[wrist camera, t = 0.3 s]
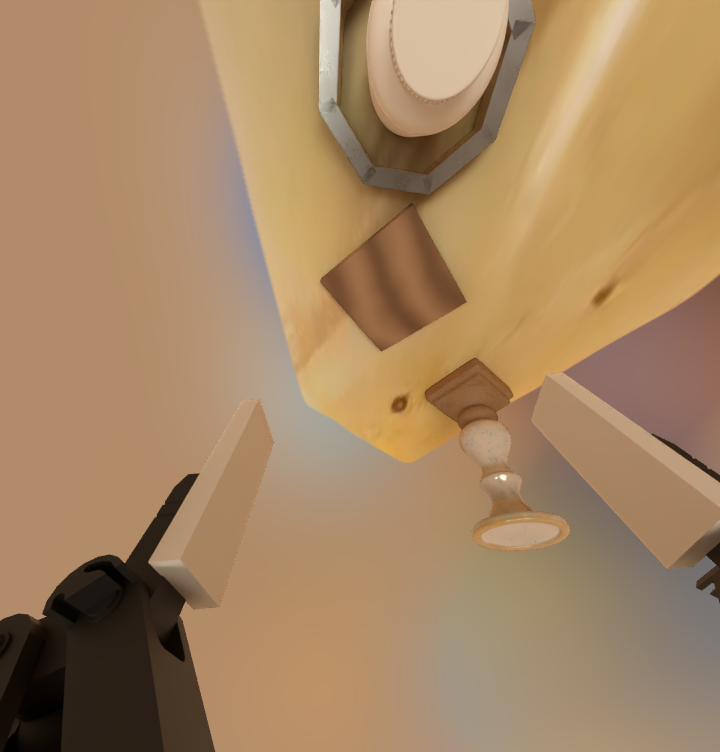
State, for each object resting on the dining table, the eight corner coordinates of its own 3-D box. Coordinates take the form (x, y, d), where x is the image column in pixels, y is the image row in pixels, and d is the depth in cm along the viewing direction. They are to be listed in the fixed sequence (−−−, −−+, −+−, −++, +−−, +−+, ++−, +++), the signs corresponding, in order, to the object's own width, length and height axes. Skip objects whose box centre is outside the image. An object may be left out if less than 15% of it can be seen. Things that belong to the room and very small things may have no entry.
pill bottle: (402, 159, 27) (419, 170, 16) (350, 69, 23) (325, -1, 12) (476, 85, 24) (568, 31, 12) (430, -36, 20) (501, -278, 8)
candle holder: (475, 356, 43) (545, 508, 25) (511, 389, 47) (593, 539, 29) (423, 391, 49) (450, 535, 31) (459, 418, 53) (501, 557, 35)
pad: (411, 203, 30) (412, 205, 29) (464, 298, 36) (466, 301, 36) (321, 278, 36) (320, 281, 35) (381, 347, 43) (381, 351, 42)
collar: (461, -197, 16) (474, -253, 14) (535, 98, 24) (552, 93, 22) (287, 55, 23) (277, 46, 21) (389, 220, 31) (390, 226, 28)
